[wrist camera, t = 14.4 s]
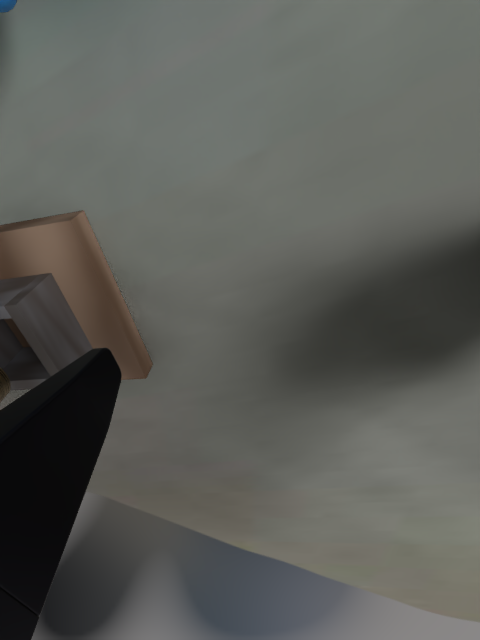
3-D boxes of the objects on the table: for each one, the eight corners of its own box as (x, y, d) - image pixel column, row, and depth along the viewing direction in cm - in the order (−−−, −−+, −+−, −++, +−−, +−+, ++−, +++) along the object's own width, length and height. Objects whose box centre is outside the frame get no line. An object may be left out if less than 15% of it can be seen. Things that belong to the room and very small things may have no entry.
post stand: (83, 210, 22) (34, 248, 18) (152, 364, 29) (128, 416, 25) (-78, 239, 25) (-151, 277, 21) (19, 373, 32) (-22, 421, 28)
